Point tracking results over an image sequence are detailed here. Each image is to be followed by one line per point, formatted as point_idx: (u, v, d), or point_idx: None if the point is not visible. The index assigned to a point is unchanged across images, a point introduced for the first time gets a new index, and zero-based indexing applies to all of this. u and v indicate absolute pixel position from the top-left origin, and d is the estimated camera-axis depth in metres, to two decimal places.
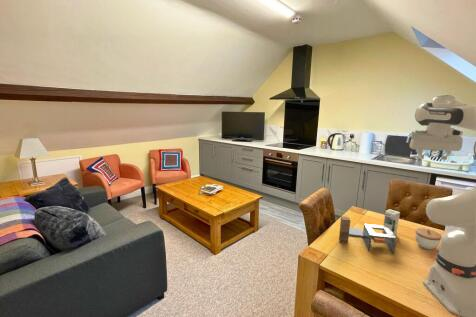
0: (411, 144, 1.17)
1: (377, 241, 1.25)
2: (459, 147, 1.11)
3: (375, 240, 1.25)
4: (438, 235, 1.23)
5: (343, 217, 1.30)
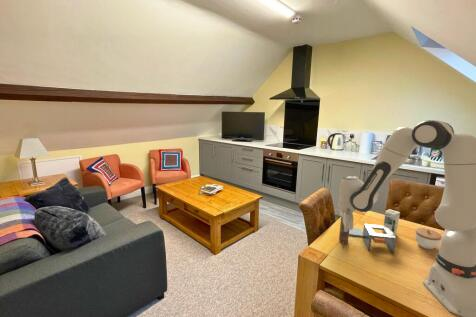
0: (350, 226, 1.19)
1: (377, 241, 1.25)
2: None
3: (375, 240, 1.25)
4: (438, 235, 1.23)
5: None
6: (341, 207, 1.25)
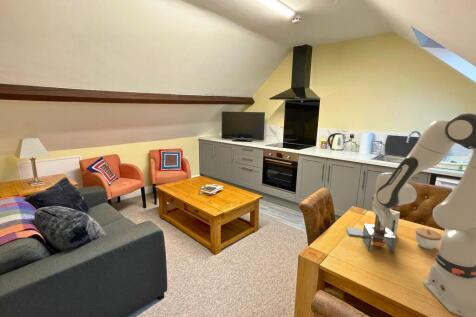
0: (389, 224, 1.14)
1: (377, 244, 1.25)
2: None
3: (375, 243, 1.25)
4: (438, 235, 1.23)
5: None
6: (378, 204, 1.20)
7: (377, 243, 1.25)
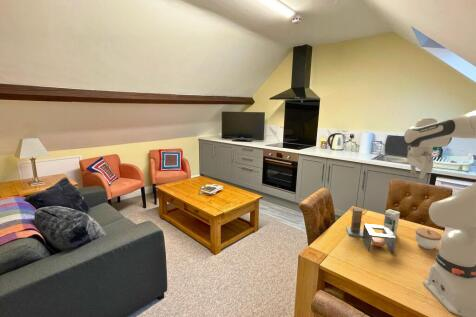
0: (429, 168, 1.15)
1: (377, 244, 1.25)
2: None
3: (375, 243, 1.25)
4: (438, 235, 1.23)
5: (355, 208, 1.38)
6: (416, 151, 1.21)
7: (377, 243, 1.25)
